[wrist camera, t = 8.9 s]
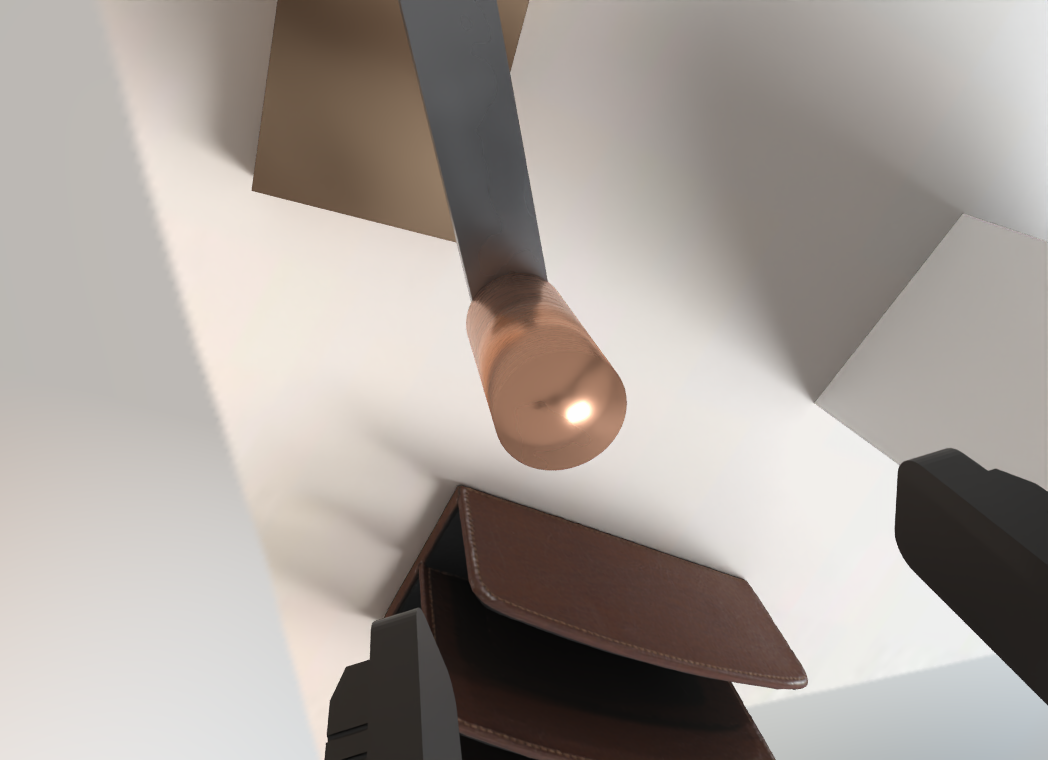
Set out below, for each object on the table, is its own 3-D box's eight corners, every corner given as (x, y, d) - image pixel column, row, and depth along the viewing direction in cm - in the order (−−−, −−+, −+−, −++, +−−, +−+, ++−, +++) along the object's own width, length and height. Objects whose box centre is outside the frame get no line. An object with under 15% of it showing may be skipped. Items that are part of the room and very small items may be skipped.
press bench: (323, -265, 21) (298, -400, 15) (566, -156, 23) (632, -232, 17) (260, 181, 26) (221, 221, 20) (463, 233, 28) (485, 283, 22)
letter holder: (661, 688, 44) (770, 937, 32) (378, 619, 37) (376, 906, 25) (747, 576, 41) (906, 805, 29) (457, 478, 34) (500, 725, 22)
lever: (295, -276, 15) (226, -527, 9) (465, -305, 16) (525, -569, 9) (461, 363, 23) (493, 488, 16) (573, 334, 23) (649, 446, 17)
